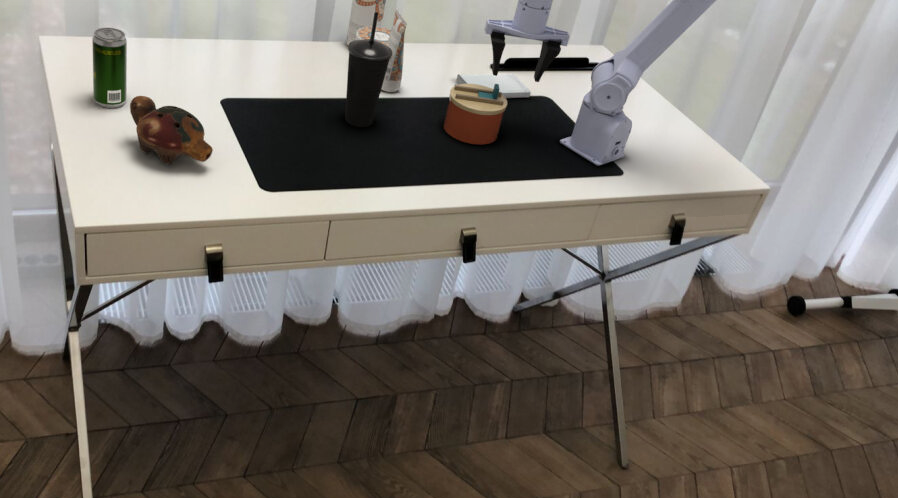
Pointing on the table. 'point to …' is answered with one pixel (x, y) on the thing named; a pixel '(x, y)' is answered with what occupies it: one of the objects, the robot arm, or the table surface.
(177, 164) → the table surface
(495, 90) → the slider
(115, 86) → the beer can
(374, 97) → the drinking cup
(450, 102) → the brown and beige cylinder
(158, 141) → the decorative turtle
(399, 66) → the cosmetic set
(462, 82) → the hard drive
